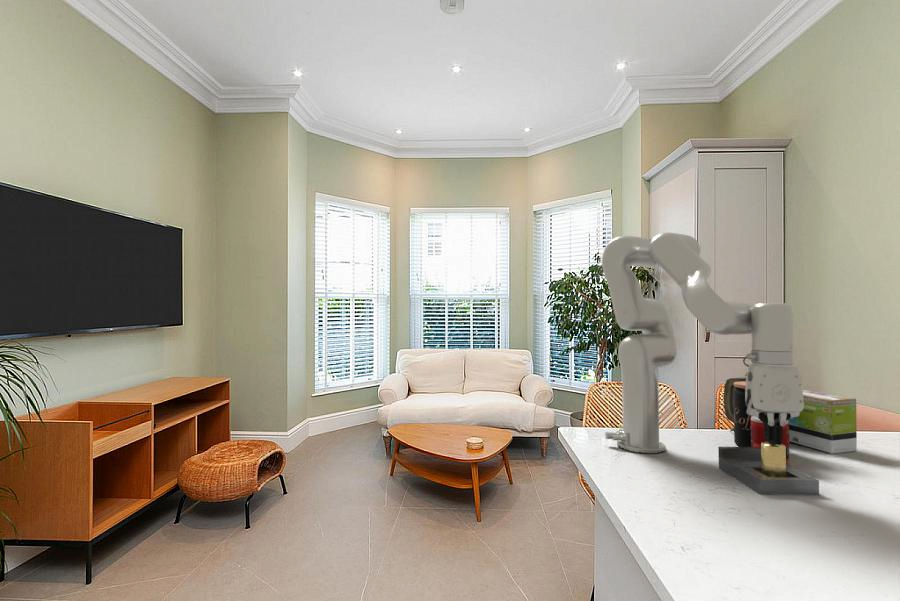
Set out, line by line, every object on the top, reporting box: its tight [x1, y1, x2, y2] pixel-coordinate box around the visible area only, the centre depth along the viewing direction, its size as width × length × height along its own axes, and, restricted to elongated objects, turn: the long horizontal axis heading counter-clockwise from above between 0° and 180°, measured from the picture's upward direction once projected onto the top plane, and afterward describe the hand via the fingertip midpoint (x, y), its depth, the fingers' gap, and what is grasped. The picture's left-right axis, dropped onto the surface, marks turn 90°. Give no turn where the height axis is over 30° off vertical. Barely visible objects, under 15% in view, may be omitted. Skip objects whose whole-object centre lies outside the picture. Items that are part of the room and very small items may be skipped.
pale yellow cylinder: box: [761, 442, 786, 477], centre depth 103 cm, size 4×4×9 cm
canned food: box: [751, 416, 790, 466], centre depth 120 cm, size 8×8×11 cm
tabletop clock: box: [723, 356, 749, 432], centre depth 145 cm, size 14×9×25 cm, turn 28°
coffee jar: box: [733, 381, 758, 447], centre depth 132 cm, size 11×11×18 cm
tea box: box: [788, 389, 858, 455], centre depth 135 cm, size 15×10×15 cm
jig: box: [717, 446, 820, 496], centre depth 106 cm, size 12×16×5 cm
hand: (773, 442), depth 103 cm, fingers closed
